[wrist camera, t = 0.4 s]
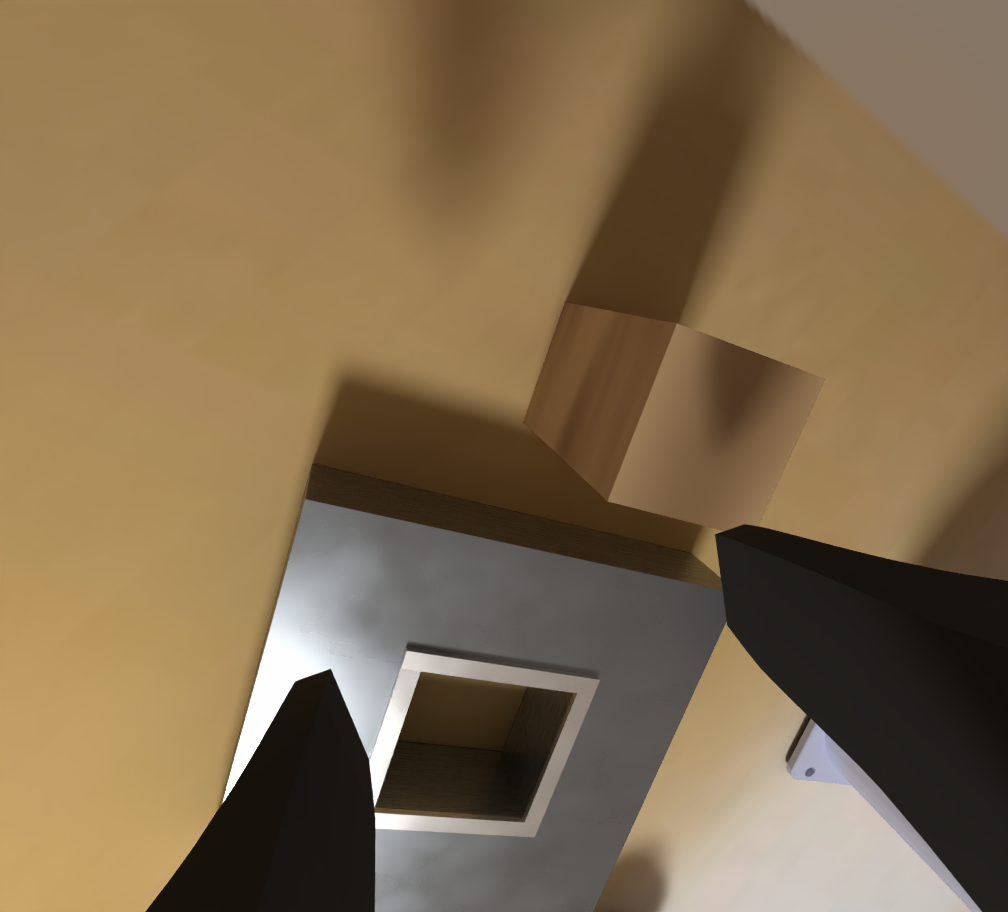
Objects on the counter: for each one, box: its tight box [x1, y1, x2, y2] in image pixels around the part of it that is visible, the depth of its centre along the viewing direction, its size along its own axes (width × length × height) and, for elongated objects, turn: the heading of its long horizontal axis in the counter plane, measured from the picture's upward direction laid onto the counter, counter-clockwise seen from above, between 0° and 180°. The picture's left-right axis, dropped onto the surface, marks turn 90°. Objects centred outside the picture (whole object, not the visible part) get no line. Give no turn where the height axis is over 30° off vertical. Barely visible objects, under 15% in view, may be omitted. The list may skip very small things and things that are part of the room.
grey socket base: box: [219, 464, 727, 912], centre depth 21 cm, size 14×14×3 cm
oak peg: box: [523, 302, 825, 531], centre depth 17 cm, size 4×4×7 cm
